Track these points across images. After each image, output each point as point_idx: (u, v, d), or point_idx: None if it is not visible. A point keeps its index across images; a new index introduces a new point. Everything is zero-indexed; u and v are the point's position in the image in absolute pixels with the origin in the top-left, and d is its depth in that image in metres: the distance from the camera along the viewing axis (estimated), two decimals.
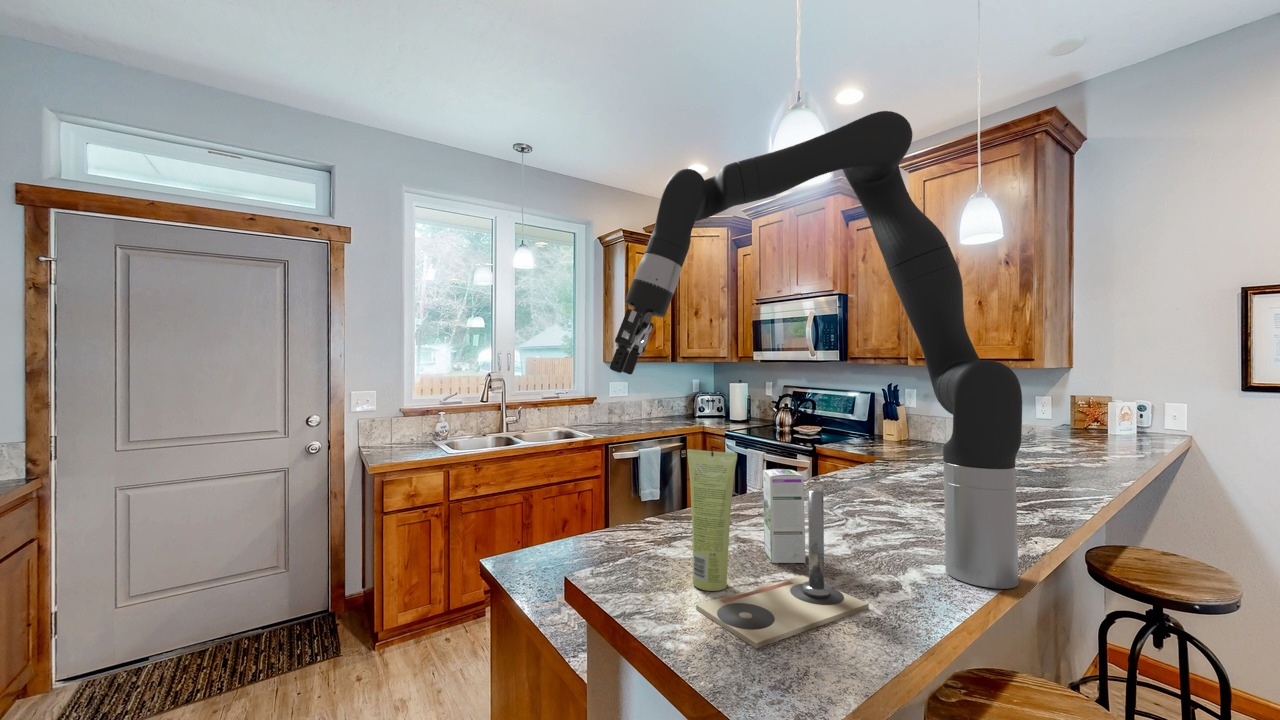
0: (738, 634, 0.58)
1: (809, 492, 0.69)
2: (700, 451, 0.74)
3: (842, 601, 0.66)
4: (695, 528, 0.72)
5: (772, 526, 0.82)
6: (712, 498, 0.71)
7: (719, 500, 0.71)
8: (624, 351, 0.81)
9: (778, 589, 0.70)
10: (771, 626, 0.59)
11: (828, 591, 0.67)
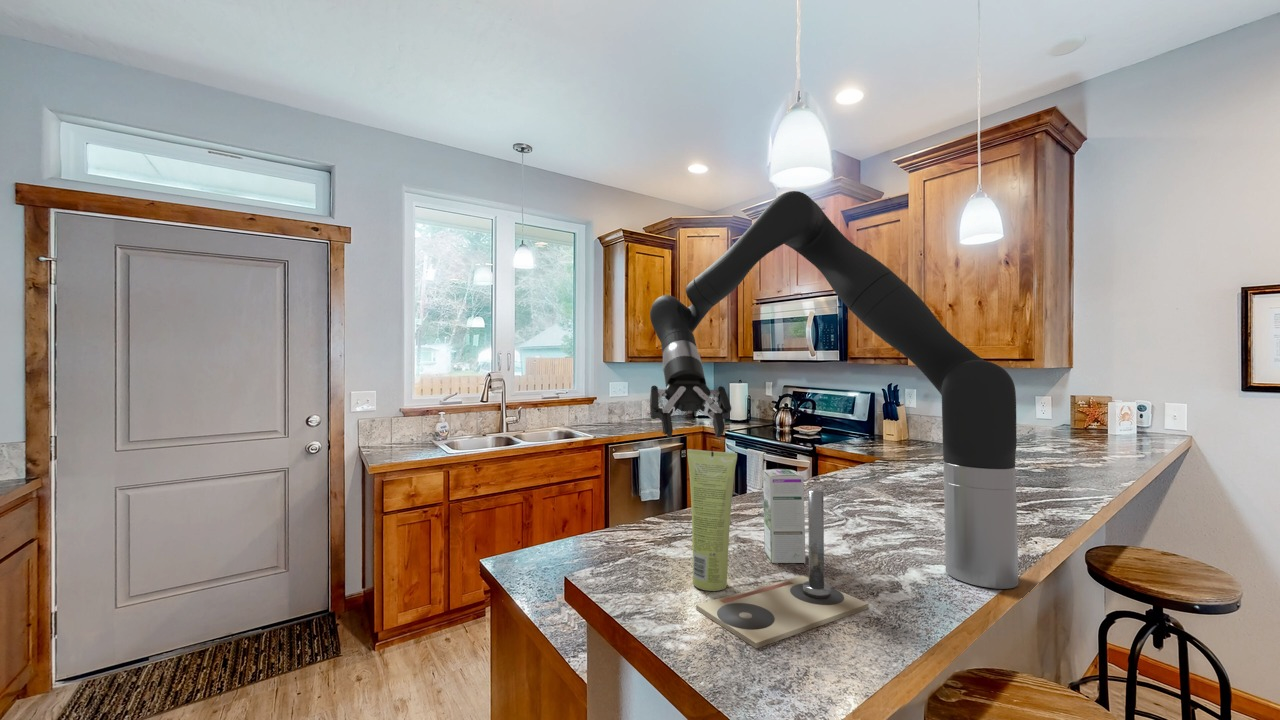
0: (738, 634, 0.58)
1: (809, 492, 0.69)
2: (700, 451, 0.74)
3: (842, 601, 0.66)
4: (695, 528, 0.72)
5: (772, 526, 0.82)
6: (712, 498, 0.71)
7: (719, 500, 0.71)
8: (662, 416, 0.86)
9: (778, 589, 0.70)
10: (771, 626, 0.59)
11: (828, 591, 0.67)
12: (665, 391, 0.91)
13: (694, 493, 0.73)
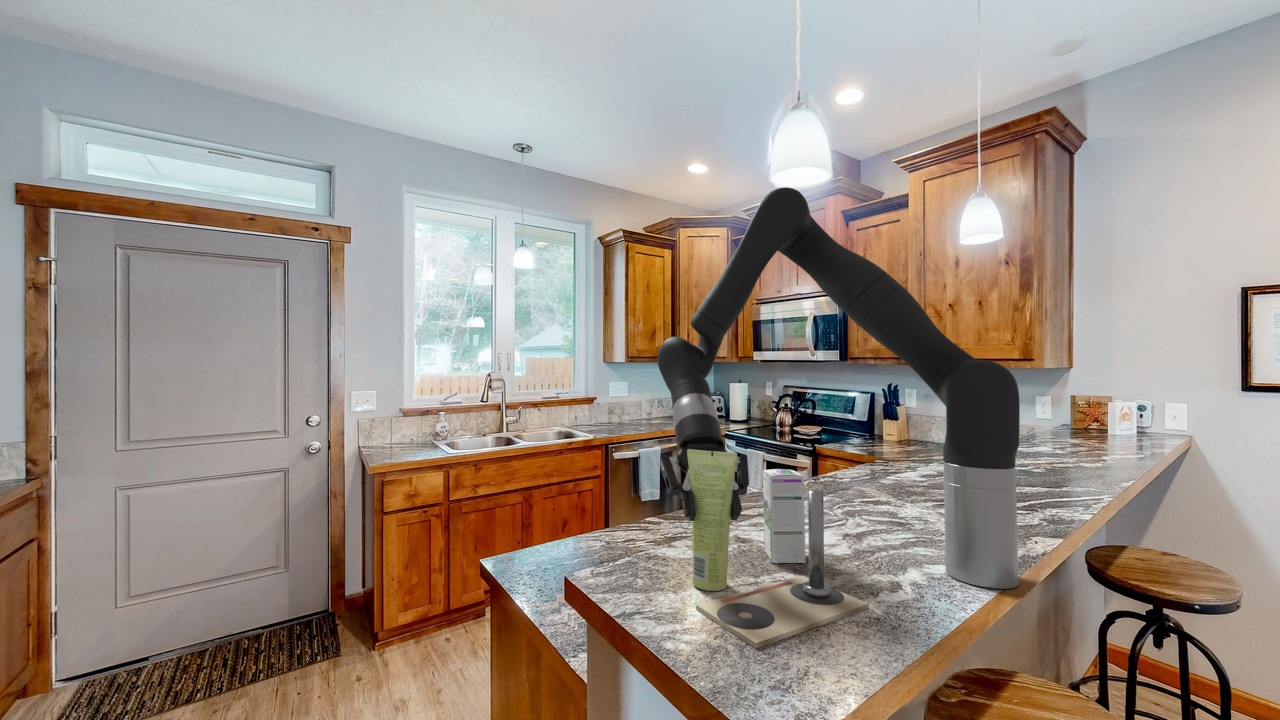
0: (738, 634, 0.58)
1: (809, 492, 0.69)
2: (700, 451, 0.74)
3: (842, 601, 0.66)
4: (695, 528, 0.72)
5: (772, 526, 0.82)
6: (712, 498, 0.71)
7: (719, 500, 0.71)
8: (682, 494, 0.73)
9: (778, 589, 0.70)
10: (771, 626, 0.59)
11: (828, 591, 0.67)
12: (678, 458, 0.77)
13: (694, 493, 0.73)
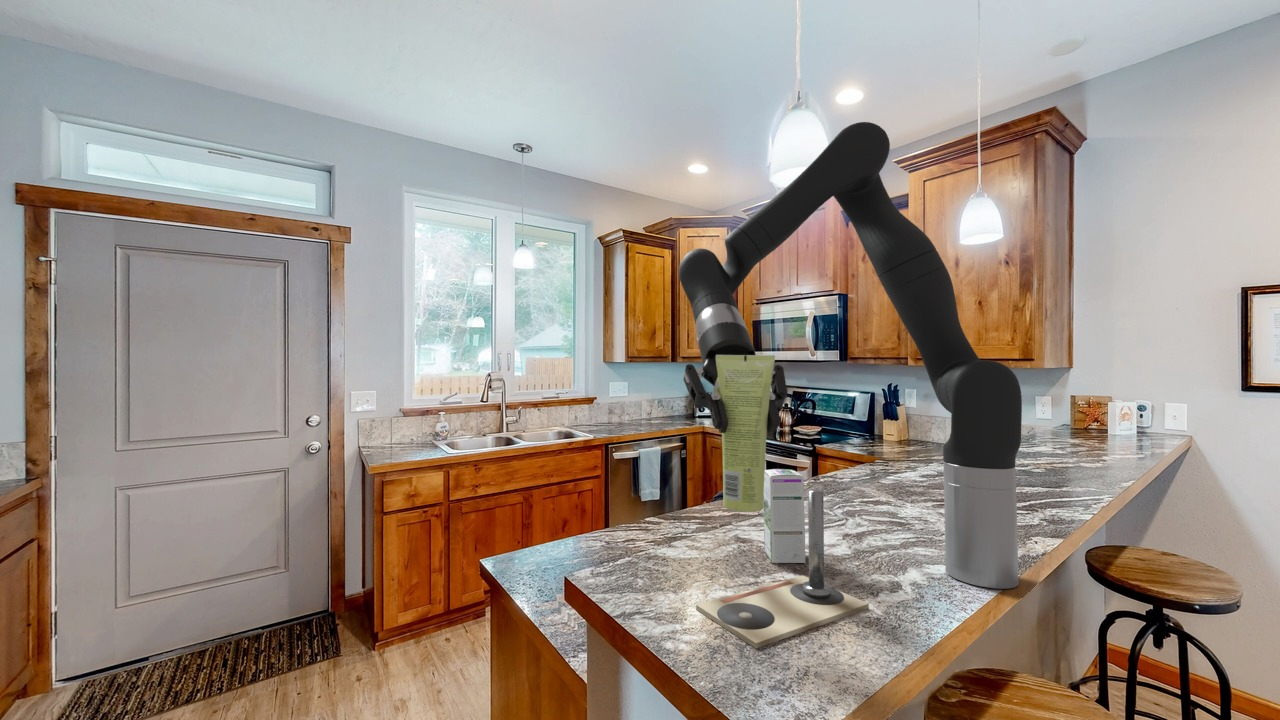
0: (738, 634, 0.58)
1: (809, 492, 0.69)
2: (731, 356, 0.64)
3: (842, 601, 0.66)
4: (727, 442, 0.62)
5: (772, 526, 0.82)
6: (746, 406, 0.62)
7: (754, 408, 0.61)
8: (711, 404, 0.63)
9: (778, 589, 0.70)
10: (771, 626, 0.59)
11: (828, 591, 0.67)
12: (704, 369, 0.68)
13: (725, 403, 0.63)
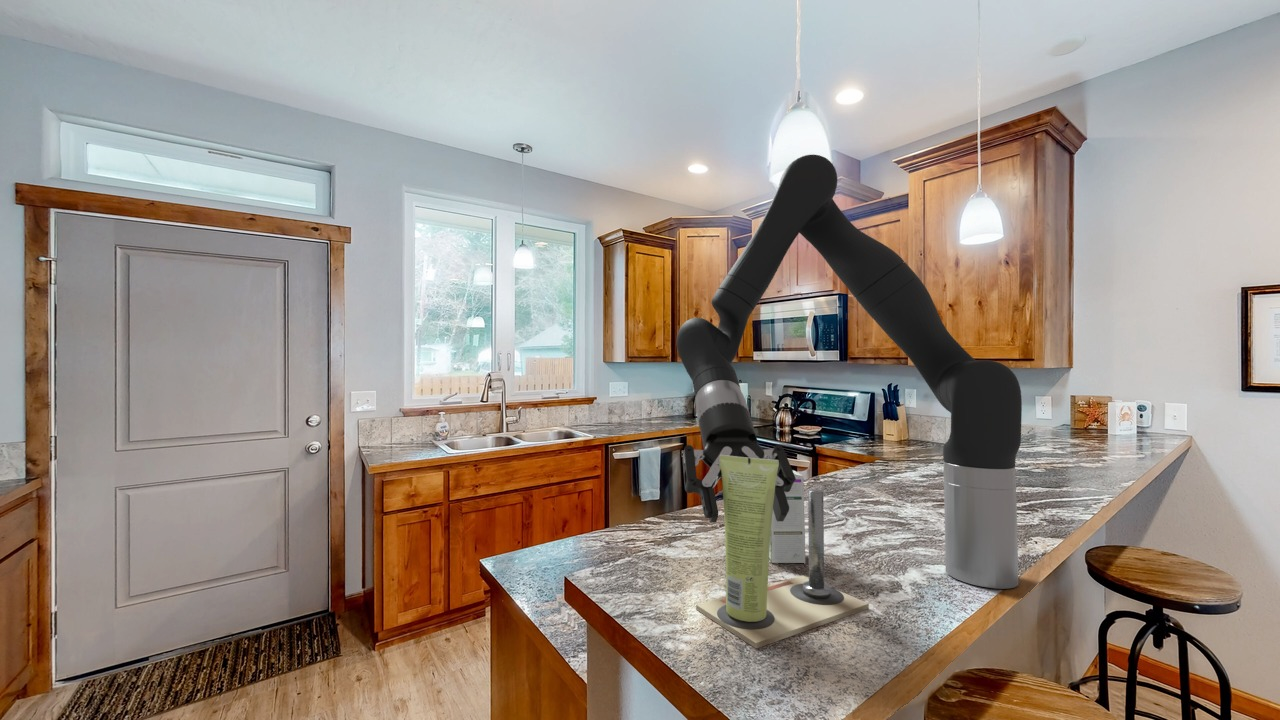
0: (738, 634, 0.58)
1: (809, 492, 0.69)
2: (735, 457, 0.64)
3: (842, 601, 0.66)
4: (729, 547, 0.62)
5: (772, 526, 0.82)
6: (749, 513, 0.61)
7: (757, 515, 0.61)
8: (701, 491, 0.63)
9: (778, 589, 0.70)
10: (771, 626, 0.59)
11: (828, 591, 0.67)
12: (703, 453, 0.67)
13: (728, 506, 0.63)
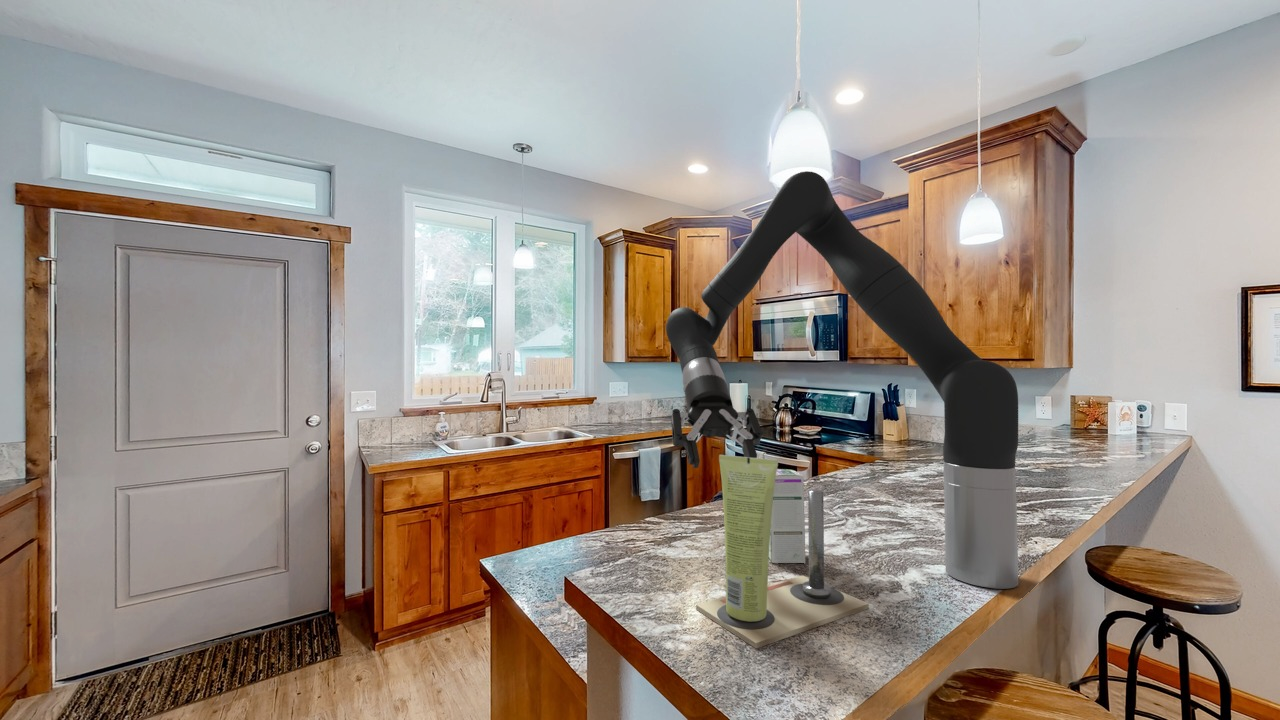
0: (738, 634, 0.58)
1: (809, 492, 0.69)
2: (734, 457, 0.64)
3: (842, 601, 0.66)
4: (729, 547, 0.62)
5: (772, 526, 0.82)
6: (748, 512, 0.61)
7: (756, 514, 0.61)
8: (686, 444, 0.78)
9: (778, 589, 0.70)
10: (771, 626, 0.59)
11: (828, 591, 0.67)
12: (688, 415, 0.82)
13: (727, 506, 0.63)
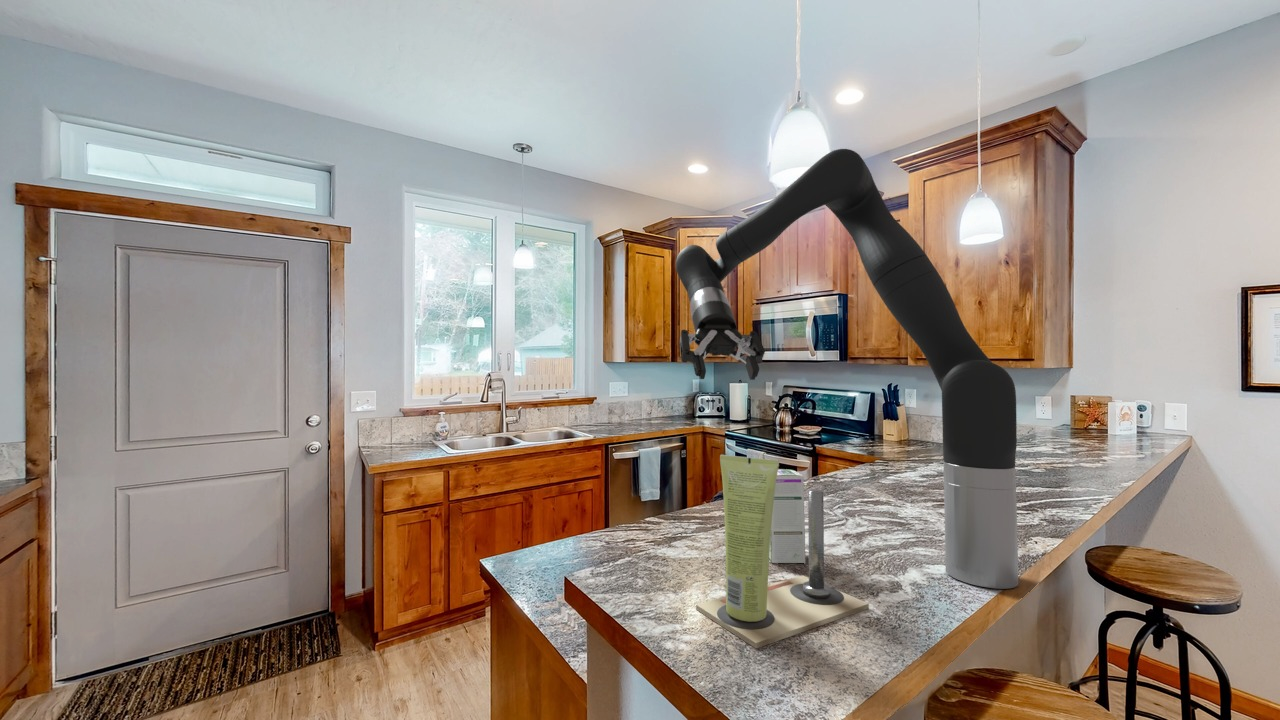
0: (738, 634, 0.58)
1: (809, 492, 0.69)
2: (735, 457, 0.64)
3: (842, 601, 0.66)
4: (729, 547, 0.62)
5: (772, 526, 0.82)
6: (749, 512, 0.61)
7: (757, 515, 0.61)
8: (693, 358, 0.83)
9: (778, 589, 0.70)
10: (771, 626, 0.59)
11: (828, 591, 0.67)
12: (695, 335, 0.88)
13: (728, 506, 0.63)
